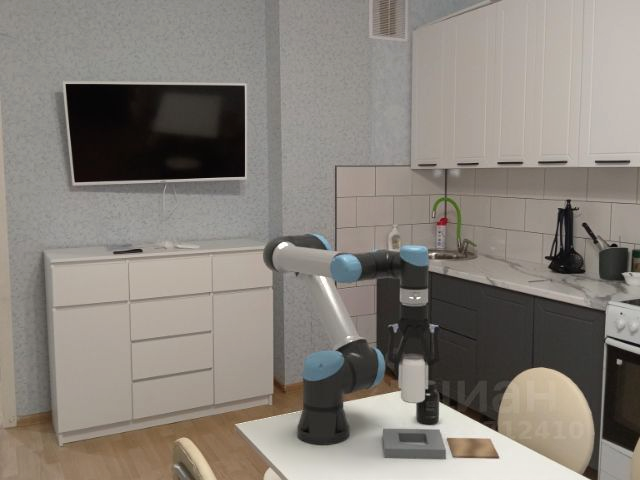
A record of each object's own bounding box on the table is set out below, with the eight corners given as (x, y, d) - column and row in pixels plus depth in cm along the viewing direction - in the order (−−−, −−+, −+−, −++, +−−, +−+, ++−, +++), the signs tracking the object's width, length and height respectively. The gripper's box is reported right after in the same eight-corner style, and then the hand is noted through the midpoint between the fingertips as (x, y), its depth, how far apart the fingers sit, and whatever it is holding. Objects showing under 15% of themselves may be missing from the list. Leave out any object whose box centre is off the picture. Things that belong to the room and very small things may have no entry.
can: (424, 404, 173) (424, 360, 172) (399, 402, 175) (400, 359, 173) (425, 396, 180) (426, 353, 178) (401, 394, 181) (402, 352, 180)
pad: (453, 457, 172) (453, 455, 172) (446, 439, 184) (446, 437, 184) (499, 458, 171) (499, 456, 171) (490, 440, 183) (490, 438, 183)
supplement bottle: (442, 419, 199) (442, 381, 198) (434, 426, 193) (434, 387, 192) (421, 415, 202) (421, 377, 201) (412, 422, 197) (412, 383, 195)
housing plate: (384, 457, 172) (384, 448, 172) (382, 436, 186) (382, 428, 185) (445, 458, 171) (445, 449, 171) (439, 437, 185) (439, 429, 184)
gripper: (378, 305, 171) (377, 391, 174) (452, 306, 170) (450, 392, 172) (377, 300, 179) (376, 382, 181) (448, 301, 178) (447, 383, 180)
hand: (412, 387), depth 177 cm, fingers closed on can, 6 cm apart
